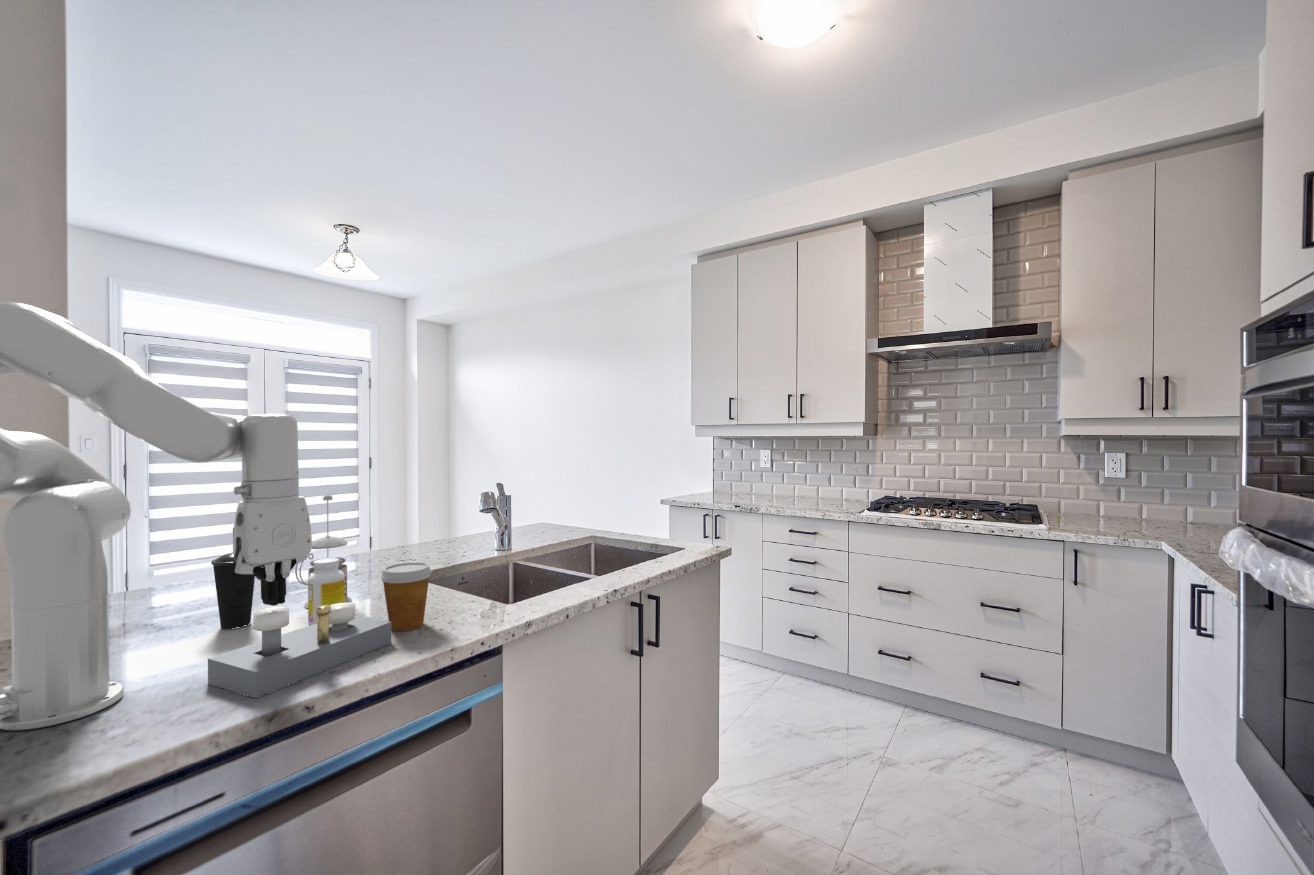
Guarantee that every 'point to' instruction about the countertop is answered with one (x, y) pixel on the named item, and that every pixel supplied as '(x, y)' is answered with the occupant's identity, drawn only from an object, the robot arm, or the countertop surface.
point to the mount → (295, 657)
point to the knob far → (341, 615)
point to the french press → (325, 544)
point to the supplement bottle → (325, 586)
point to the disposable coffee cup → (406, 594)
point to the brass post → (323, 624)
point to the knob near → (271, 627)
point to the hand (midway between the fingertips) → (273, 603)
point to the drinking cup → (233, 592)
